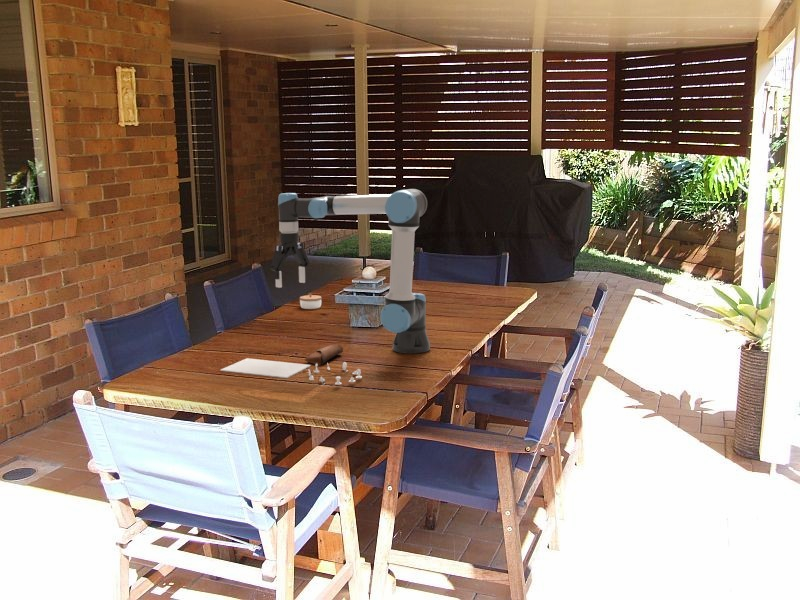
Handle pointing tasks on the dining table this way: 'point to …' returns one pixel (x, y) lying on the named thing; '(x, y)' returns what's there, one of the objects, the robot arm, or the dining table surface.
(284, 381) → the dining table surface
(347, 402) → the dining table surface
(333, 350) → the sunglasses case
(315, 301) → the lidded jar
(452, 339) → the dining table surface
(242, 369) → the rubber mat
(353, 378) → the game piece set
